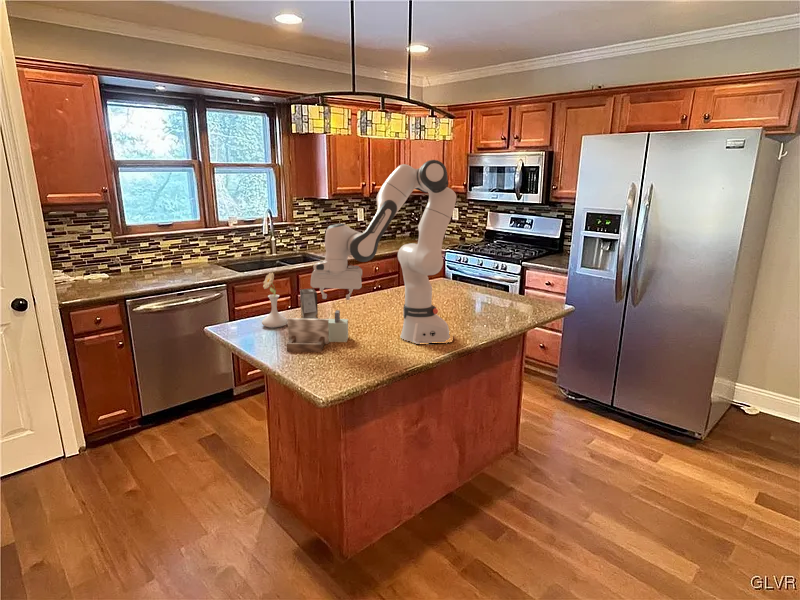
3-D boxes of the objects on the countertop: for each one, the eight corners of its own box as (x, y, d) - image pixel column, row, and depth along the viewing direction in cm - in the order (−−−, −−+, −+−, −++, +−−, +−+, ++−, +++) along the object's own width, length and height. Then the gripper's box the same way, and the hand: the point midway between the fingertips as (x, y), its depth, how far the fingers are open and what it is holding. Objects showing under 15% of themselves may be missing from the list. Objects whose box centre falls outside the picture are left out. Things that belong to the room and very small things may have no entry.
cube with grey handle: (348, 337, 198) (347, 309, 195) (346, 342, 193) (346, 313, 190) (329, 337, 198) (328, 309, 195) (326, 341, 193) (326, 313, 190)
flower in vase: (262, 322, 216) (259, 268, 210) (288, 321, 218) (286, 268, 212) (260, 331, 204) (257, 274, 197) (287, 330, 206) (285, 273, 200)
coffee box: (318, 327, 210) (317, 292, 206) (304, 329, 208) (302, 293, 204) (314, 322, 218) (313, 288, 214) (300, 323, 216) (299, 289, 212)
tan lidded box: (328, 342, 192) (328, 318, 189) (324, 352, 181) (324, 327, 179) (289, 341, 192) (288, 318, 189) (283, 351, 181) (281, 326, 179)
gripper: (363, 264, 191) (362, 297, 194) (312, 262, 191) (312, 296, 194) (361, 267, 185) (361, 301, 188) (309, 265, 184) (309, 299, 188)
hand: (336, 298), depth 191 cm, fingers open, 8 cm apart
